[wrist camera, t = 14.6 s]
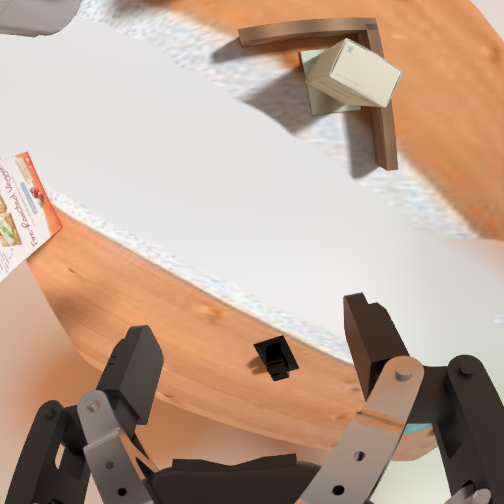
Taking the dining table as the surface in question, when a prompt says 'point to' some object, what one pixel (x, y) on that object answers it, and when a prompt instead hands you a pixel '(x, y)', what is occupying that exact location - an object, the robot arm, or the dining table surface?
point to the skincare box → (354, 75)
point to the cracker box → (22, 213)
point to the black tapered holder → (277, 357)
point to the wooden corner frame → (323, 28)
